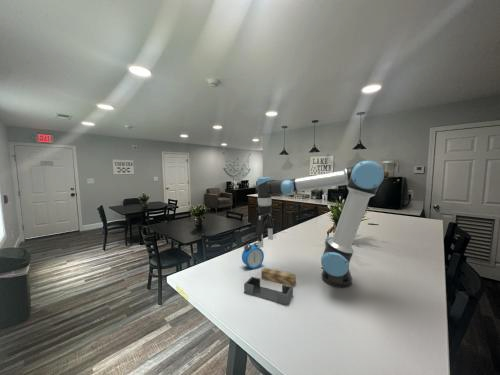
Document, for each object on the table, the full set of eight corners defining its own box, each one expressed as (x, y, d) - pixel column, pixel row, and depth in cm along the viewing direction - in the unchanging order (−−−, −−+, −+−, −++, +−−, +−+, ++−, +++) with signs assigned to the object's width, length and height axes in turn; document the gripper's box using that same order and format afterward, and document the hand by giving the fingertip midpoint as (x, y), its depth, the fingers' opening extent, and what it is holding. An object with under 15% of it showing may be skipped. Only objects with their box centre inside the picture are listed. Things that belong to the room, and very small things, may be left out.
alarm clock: (246, 271, 120) (245, 247, 119) (241, 267, 126) (241, 244, 125) (264, 266, 127) (264, 243, 126) (259, 262, 132) (258, 240, 131)
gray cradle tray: (292, 296, 95) (292, 286, 95) (287, 306, 88) (287, 295, 87) (251, 285, 105) (251, 276, 105) (244, 293, 98) (244, 283, 98)
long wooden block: (295, 283, 106) (295, 274, 106) (293, 287, 103) (293, 277, 103) (264, 276, 115) (264, 267, 114) (261, 279, 111) (261, 270, 111)
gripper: (267, 202, 123) (268, 236, 124) (247, 208, 101) (249, 249, 102) (278, 202, 120) (279, 237, 121) (261, 208, 98) (262, 251, 99)
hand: (265, 243), depth 112 cm, fingers open, 13 cm apart
